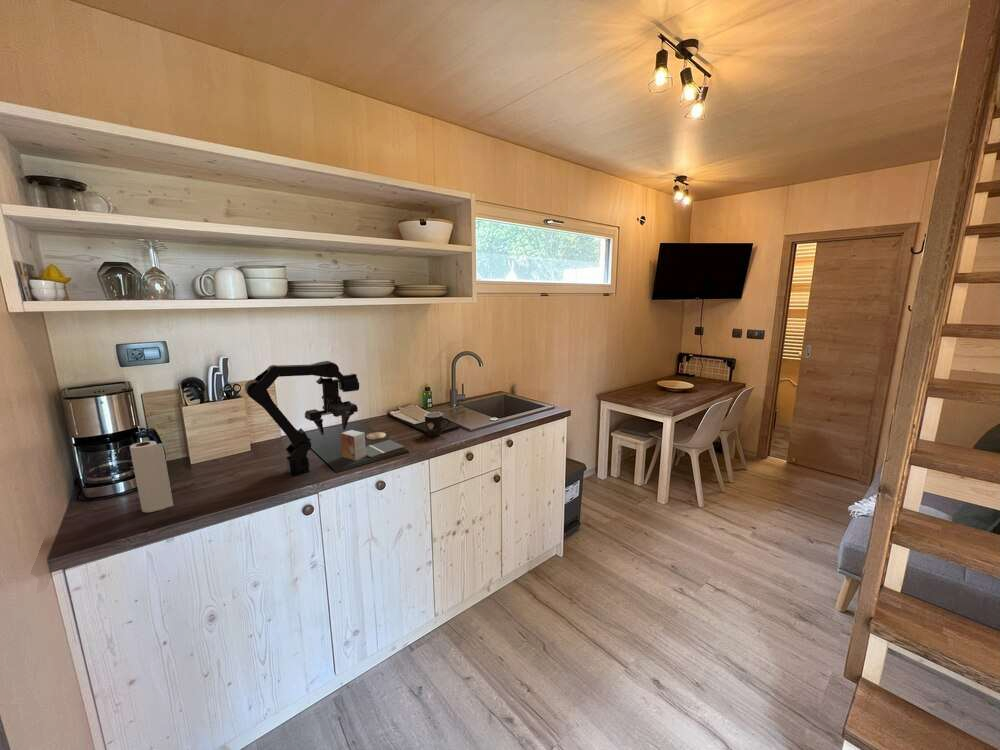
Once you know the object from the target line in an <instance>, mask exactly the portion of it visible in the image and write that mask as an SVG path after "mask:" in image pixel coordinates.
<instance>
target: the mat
mask: <svg viewBox="0 0 1000 750" xmlns="http://www.w3.org/2000/svg"><path fill="white" fill-rule="evenodd" d="M365 447H366V457H368V458H369V457H370V459H372V458H371V457H373V458H375V457H374V456H376V457H378V456H377V455H380V454H383V455H385V454H384V453H386V454H388V453H387V452H389V453H391V452H390V451H392V452H394V451H393V450H396V449H399V448H402V449H404V448H405V445H403V444H399V443H398V442H396V441H393V440H391V439H387V440H384V441H380V442H376V443H373V444H369V445H367V446H366V445H365ZM399 450H400V449H399ZM396 451H397V450H396ZM380 456H381V455H380Z"/></svg>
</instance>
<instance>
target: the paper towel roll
mask: <svg viewBox="0 0 1000 750" xmlns="http://www.w3.org/2000/svg"><path fill="white" fill-rule="evenodd" d="M129 451H130V456H131V461H132V467H133V471H134V476H135V481H136V482H135V483H136V487H137V492H138V498H139V501H140V508H141V511H142V512H143V513H153V512H157V511H158V512H159V511H161V510H164V509H167V508H170V507H173V506H174V502H173V501H174V500H173V496H172V490H171V485H170V484H171V482H170V479H169V473H168V466H167V459H166V455H165V450H164V443H157V442H156V441H155V440H146V441H141V442H136V443H133V444H131V445H130V446H129Z"/></svg>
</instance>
